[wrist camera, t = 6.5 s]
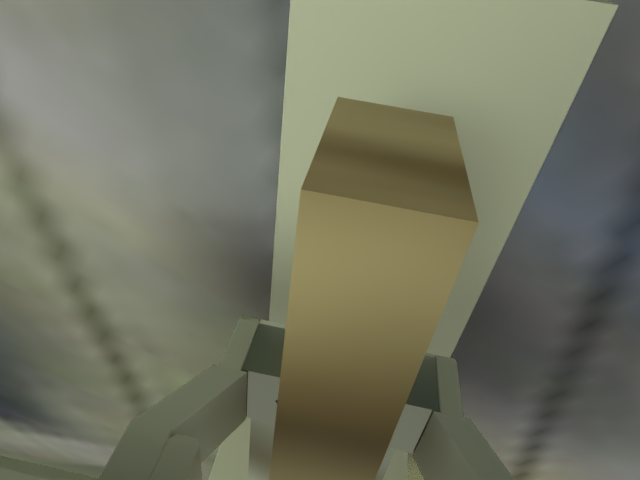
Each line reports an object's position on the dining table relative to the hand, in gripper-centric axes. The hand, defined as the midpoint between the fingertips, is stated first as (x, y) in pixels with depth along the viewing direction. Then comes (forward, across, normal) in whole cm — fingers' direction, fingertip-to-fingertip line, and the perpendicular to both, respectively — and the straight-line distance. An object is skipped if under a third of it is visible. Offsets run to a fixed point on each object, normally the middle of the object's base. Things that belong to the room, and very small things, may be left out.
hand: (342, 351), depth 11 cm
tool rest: (+8, -1, +2) cm, 9 cm away
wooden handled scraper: (+2, 0, +2) cm, 3 cm away
